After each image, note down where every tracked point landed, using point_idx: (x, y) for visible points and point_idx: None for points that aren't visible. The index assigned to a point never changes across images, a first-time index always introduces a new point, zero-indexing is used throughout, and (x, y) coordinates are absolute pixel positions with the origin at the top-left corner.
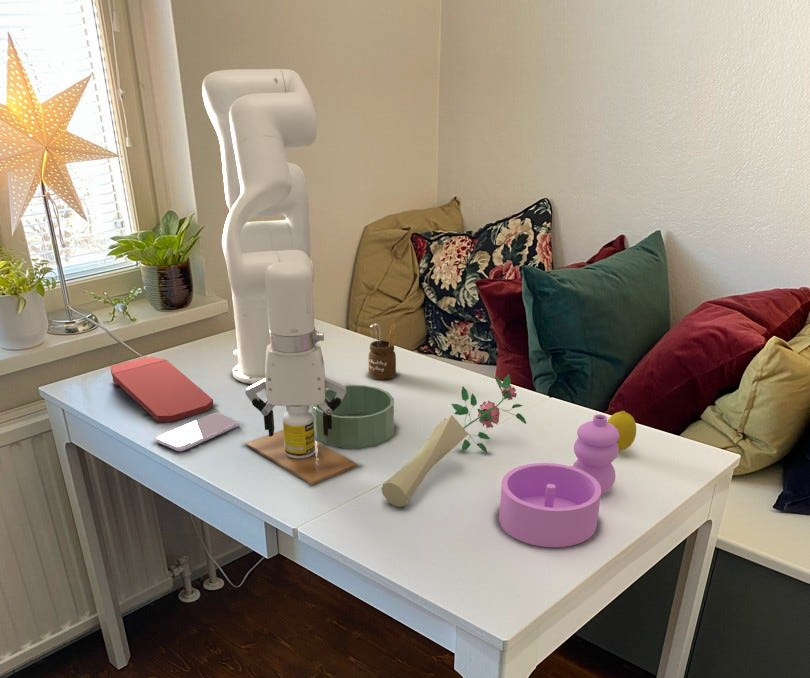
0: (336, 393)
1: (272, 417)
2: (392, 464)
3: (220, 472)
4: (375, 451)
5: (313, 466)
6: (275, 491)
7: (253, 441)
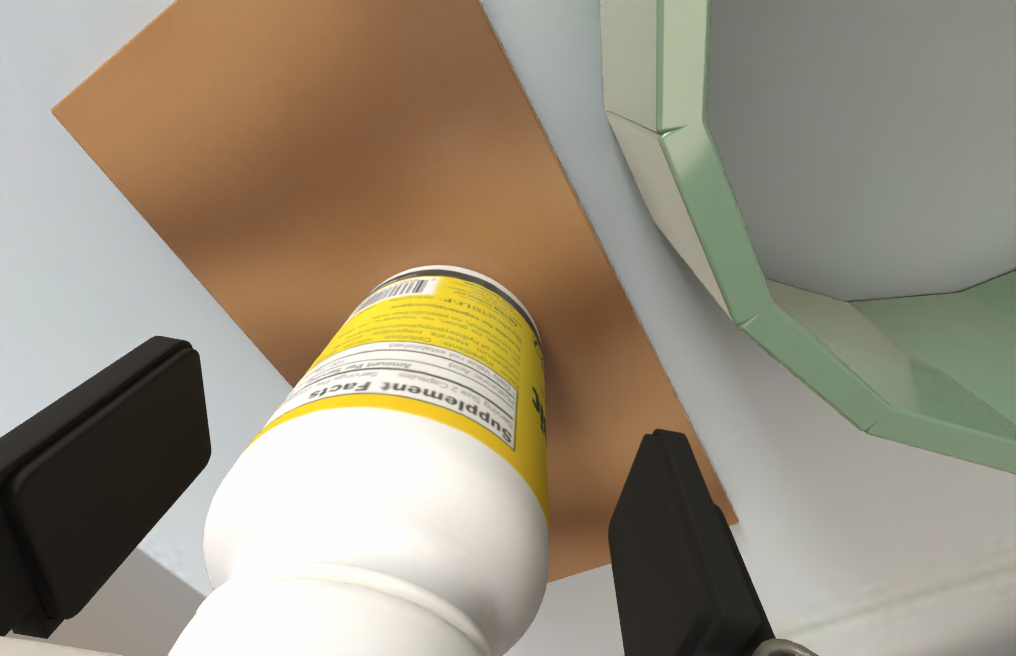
0: None
1: (89, 522)
2: (919, 524)
3: None
4: None
5: None
6: None
7: (99, 100)
